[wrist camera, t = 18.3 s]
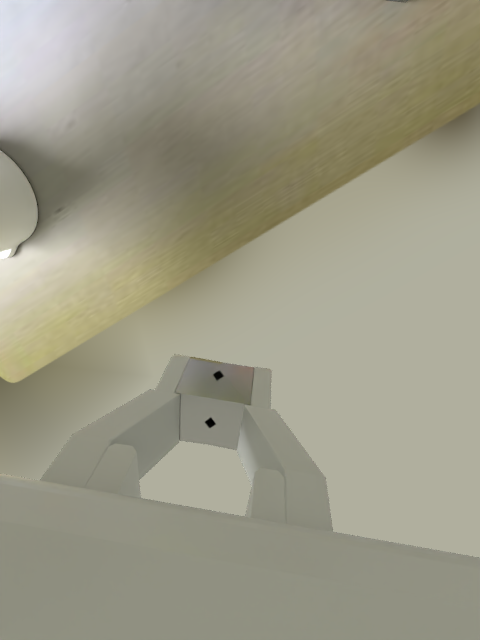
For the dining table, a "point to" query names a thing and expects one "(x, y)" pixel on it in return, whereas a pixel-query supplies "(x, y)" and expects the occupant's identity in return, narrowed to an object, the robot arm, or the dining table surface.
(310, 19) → the dining table surface
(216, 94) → the dining table surface
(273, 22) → the dining table surface
